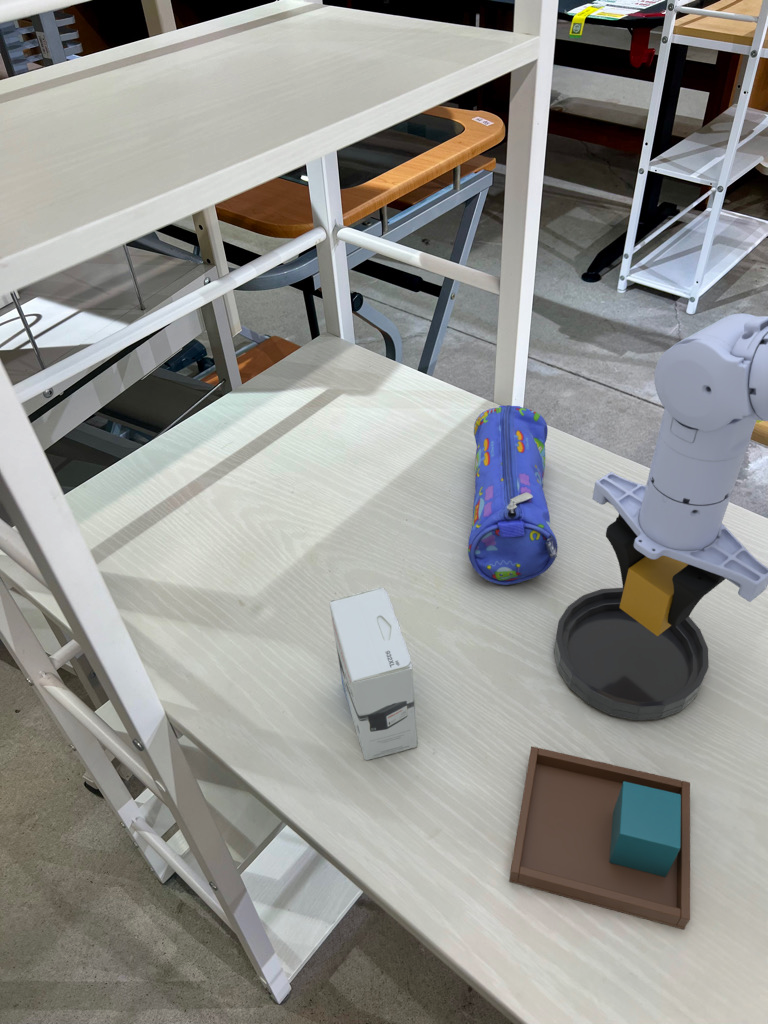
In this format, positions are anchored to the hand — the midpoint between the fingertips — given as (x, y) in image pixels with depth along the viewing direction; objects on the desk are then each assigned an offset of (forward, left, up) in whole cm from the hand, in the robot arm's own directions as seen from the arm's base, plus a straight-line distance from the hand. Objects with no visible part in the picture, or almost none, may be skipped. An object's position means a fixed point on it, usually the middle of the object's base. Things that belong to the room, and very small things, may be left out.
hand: (655, 602), depth 63 cm
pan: (+1, 0, -8) cm, 8 cm away
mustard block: (0, 0, -1) cm, 1 cm away
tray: (+2, +17, -8) cm, 19 cm away
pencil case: (+15, -16, -8) cm, 23 cm away
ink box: (+22, +11, -8) cm, 26 cm away
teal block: (-1, +17, -8) cm, 19 cm away
